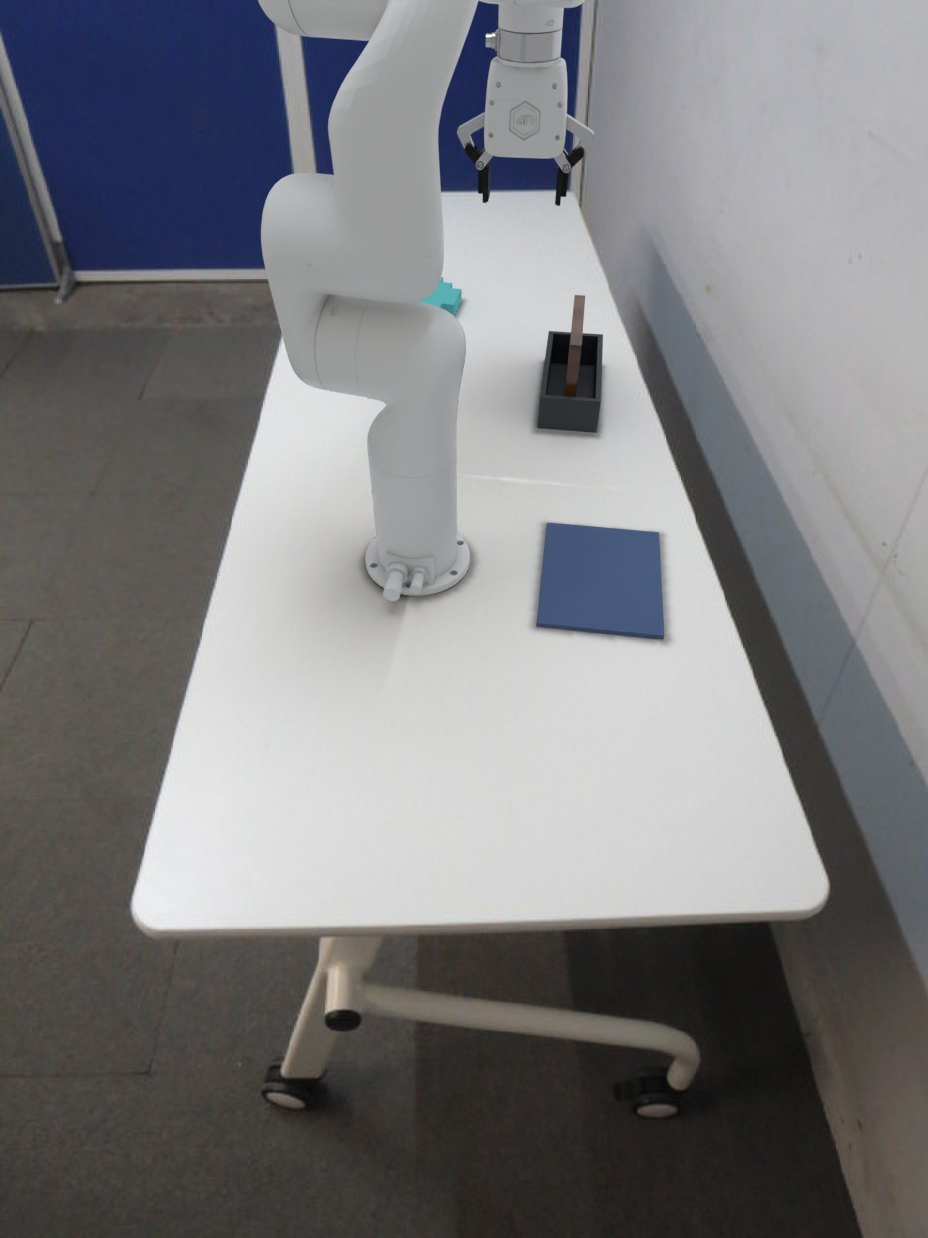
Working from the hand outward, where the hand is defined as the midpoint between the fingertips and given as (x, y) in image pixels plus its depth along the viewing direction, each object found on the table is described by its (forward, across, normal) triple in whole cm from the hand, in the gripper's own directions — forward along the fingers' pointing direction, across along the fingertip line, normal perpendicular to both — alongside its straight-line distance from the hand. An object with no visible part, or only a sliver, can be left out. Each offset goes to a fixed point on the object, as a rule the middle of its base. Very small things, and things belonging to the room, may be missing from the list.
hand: (521, 200), depth 107 cm
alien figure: (+28, -22, +27) cm, 44 cm away
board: (+26, +9, -3) cm, 28 cm away
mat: (+27, +14, -44) cm, 53 cm away
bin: (+27, +9, -3) cm, 29 cm away
